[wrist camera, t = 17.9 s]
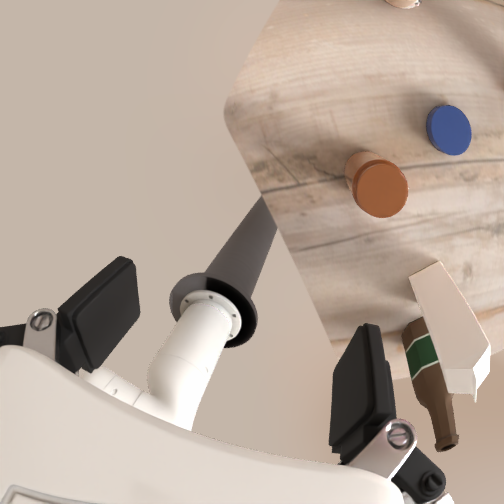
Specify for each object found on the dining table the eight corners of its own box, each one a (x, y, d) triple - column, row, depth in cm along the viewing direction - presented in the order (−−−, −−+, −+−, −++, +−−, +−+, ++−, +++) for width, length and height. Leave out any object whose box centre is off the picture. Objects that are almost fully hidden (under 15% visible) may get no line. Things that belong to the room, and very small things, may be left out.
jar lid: (430, 98, 25) (435, 97, 24) (469, 117, 24) (475, 118, 23) (421, 143, 29) (426, 144, 27) (459, 160, 28) (465, 162, 26)
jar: (380, 200, 34) (400, 227, 25) (339, 188, 34) (346, 211, 26) (392, 158, 31) (417, 172, 22) (349, 145, 31) (362, 153, 23)
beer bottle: (433, 343, 42) (460, 451, 21) (397, 348, 44) (414, 463, 23) (442, 312, 38) (482, 427, 18) (403, 317, 41) (431, 442, 20)
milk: (417, 302, 39) (452, 414, 20) (407, 276, 37) (449, 392, 18) (447, 287, 36) (496, 392, 17) (439, 259, 35) (500, 365, 16)
